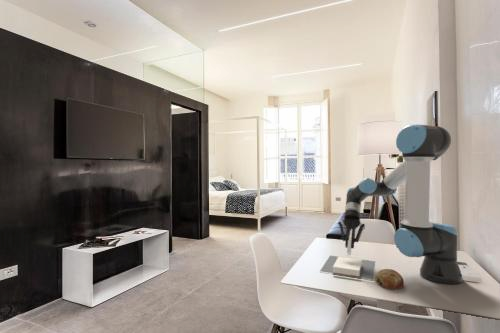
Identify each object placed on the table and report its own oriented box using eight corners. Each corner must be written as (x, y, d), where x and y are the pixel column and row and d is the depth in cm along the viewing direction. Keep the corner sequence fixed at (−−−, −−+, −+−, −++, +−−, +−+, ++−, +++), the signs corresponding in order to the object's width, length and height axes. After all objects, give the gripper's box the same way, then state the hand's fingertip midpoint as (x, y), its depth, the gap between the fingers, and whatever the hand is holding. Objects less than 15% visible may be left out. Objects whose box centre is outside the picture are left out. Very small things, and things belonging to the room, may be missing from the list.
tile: (338, 256, 140) (332, 266, 125) (362, 259, 135) (359, 270, 121) (338, 262, 140) (332, 273, 125) (362, 265, 135) (359, 277, 121)
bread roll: (374, 289, 118) (367, 273, 117) (391, 276, 121) (385, 260, 120) (394, 300, 109) (387, 282, 108) (411, 285, 112) (405, 267, 111)
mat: (330, 256, 151) (330, 255, 151) (375, 262, 142) (375, 261, 142) (319, 272, 128) (319, 271, 128) (373, 280, 118) (373, 279, 118)
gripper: (366, 218, 148) (364, 259, 132) (340, 216, 153) (335, 255, 138) (365, 209, 143) (363, 251, 128) (338, 207, 149) (333, 247, 133)
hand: (348, 253), depth 133 cm, fingers closed
